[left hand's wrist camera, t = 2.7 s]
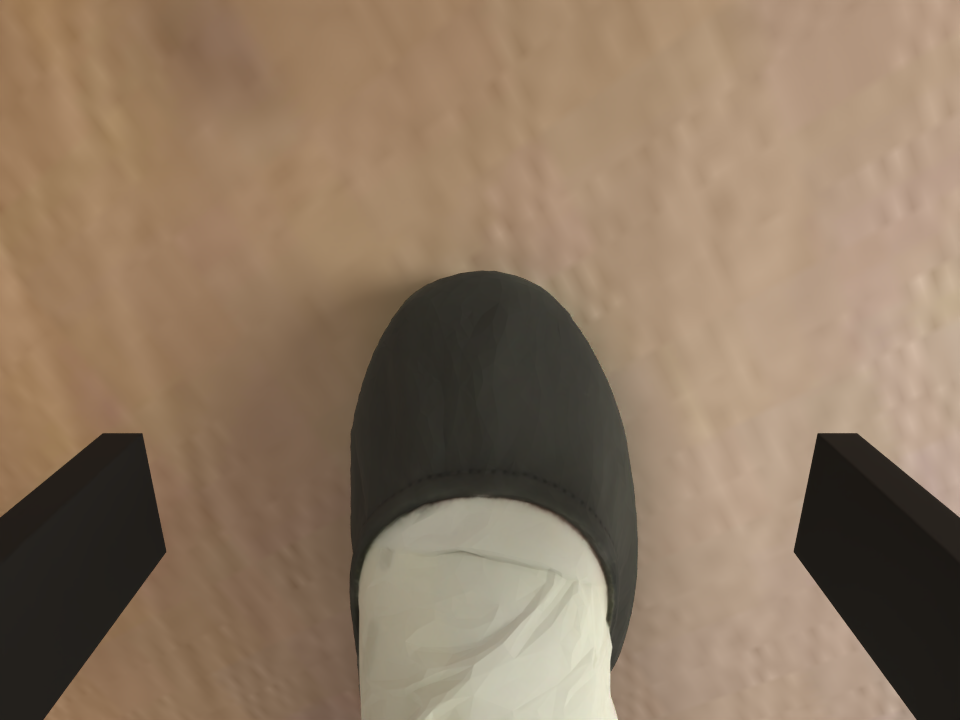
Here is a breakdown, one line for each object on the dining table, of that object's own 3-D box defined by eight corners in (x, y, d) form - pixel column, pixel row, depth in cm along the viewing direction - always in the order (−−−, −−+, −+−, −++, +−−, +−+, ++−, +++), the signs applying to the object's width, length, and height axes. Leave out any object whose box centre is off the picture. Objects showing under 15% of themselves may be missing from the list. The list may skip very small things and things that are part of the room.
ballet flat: (646, 259, 17) (771, 374, 10) (591, 847, 26) (634, 1154, 18) (345, 258, 17) (231, 371, 10) (389, 844, 26) (348, 1148, 18)
